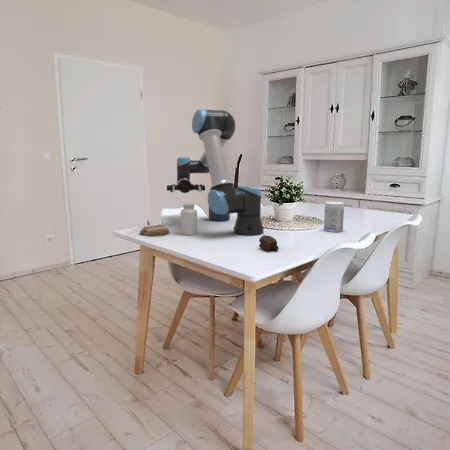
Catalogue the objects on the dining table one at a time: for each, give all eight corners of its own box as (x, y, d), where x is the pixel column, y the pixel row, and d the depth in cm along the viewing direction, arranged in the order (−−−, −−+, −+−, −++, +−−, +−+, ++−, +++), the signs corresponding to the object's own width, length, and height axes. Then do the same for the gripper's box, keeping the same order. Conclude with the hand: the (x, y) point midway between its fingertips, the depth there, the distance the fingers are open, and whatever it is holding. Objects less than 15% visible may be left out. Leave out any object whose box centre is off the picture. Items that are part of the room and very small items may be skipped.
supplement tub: (335, 228, 200) (337, 201, 197) (346, 231, 191) (348, 203, 188) (319, 229, 196) (321, 201, 194) (330, 233, 188) (332, 204, 185)
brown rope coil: (174, 233, 184) (174, 227, 183) (150, 237, 174) (150, 231, 173) (158, 229, 193) (158, 223, 193) (134, 233, 184) (134, 227, 183)
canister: (227, 222, 215) (228, 191, 212) (206, 221, 217) (206, 191, 214) (231, 218, 227) (232, 189, 224) (211, 217, 230) (211, 189, 227)
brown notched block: (281, 239, 150) (265, 231, 158) (269, 248, 148) (253, 239, 155) (284, 250, 153) (268, 242, 161) (272, 259, 151) (256, 250, 158)
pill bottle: (190, 236, 178) (190, 205, 175) (177, 234, 182) (177, 203, 180) (200, 233, 185) (200, 203, 182) (187, 231, 189) (187, 202, 186)
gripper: (206, 192, 213) (211, 196, 192) (162, 192, 208) (162, 197, 188) (206, 179, 211) (211, 182, 191) (162, 179, 207) (162, 182, 186)
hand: (187, 189), depth 189 cm, fingers open, 13 cm apart
